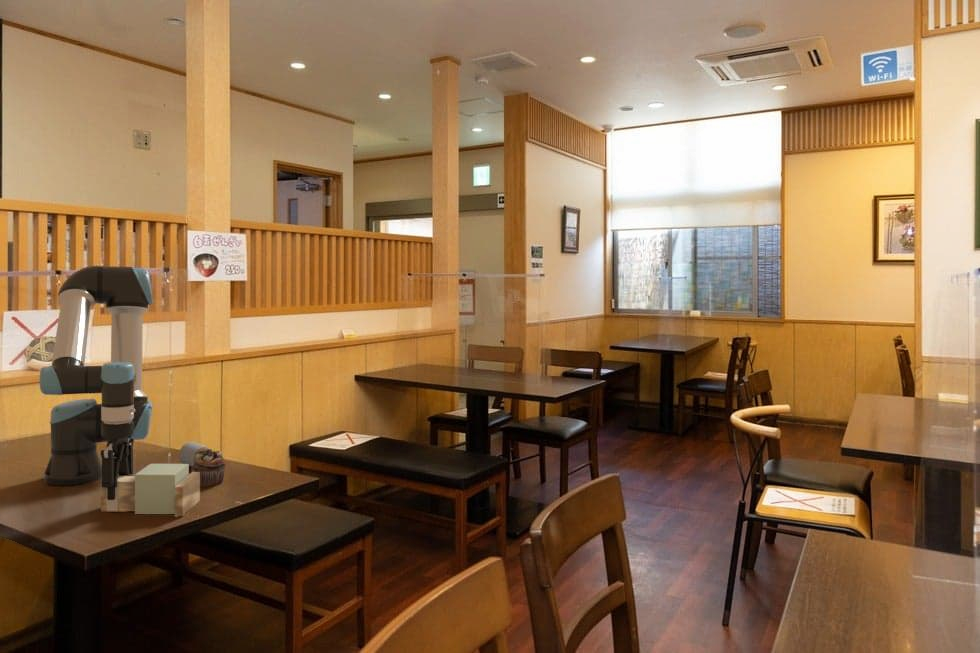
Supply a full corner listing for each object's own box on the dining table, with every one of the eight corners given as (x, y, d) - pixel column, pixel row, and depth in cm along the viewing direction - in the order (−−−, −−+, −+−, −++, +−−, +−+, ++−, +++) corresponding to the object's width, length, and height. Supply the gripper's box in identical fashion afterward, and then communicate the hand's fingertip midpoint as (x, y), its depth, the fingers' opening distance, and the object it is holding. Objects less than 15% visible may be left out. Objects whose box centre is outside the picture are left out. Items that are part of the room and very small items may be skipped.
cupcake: (232, 479, 204) (232, 447, 203) (212, 489, 195) (212, 455, 194) (205, 476, 206) (205, 444, 205) (184, 485, 197) (184, 452, 196)
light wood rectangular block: (100, 511, 174) (100, 481, 174) (110, 504, 179) (109, 475, 179) (164, 511, 176) (164, 482, 175) (171, 505, 181) (171, 476, 180)
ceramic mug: (194, 471, 211) (195, 447, 210) (177, 467, 215) (178, 443, 214) (222, 464, 220) (223, 441, 220) (206, 460, 224) (206, 437, 223)
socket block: (134, 514, 173) (134, 474, 172) (150, 501, 183) (150, 463, 182) (174, 514, 174) (175, 474, 173) (188, 501, 184) (188, 463, 183)
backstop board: (174, 517, 172) (174, 486, 172) (192, 500, 185) (192, 471, 185) (182, 517, 172) (182, 487, 172) (199, 500, 185) (199, 472, 185)
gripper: (116, 429, 167) (116, 519, 168) (147, 414, 184) (147, 496, 186) (85, 428, 166) (85, 519, 168) (119, 413, 184) (119, 495, 186)
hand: (117, 506), depth 177 cm, fingers closed on light wood rectangular block, 5 cm apart
